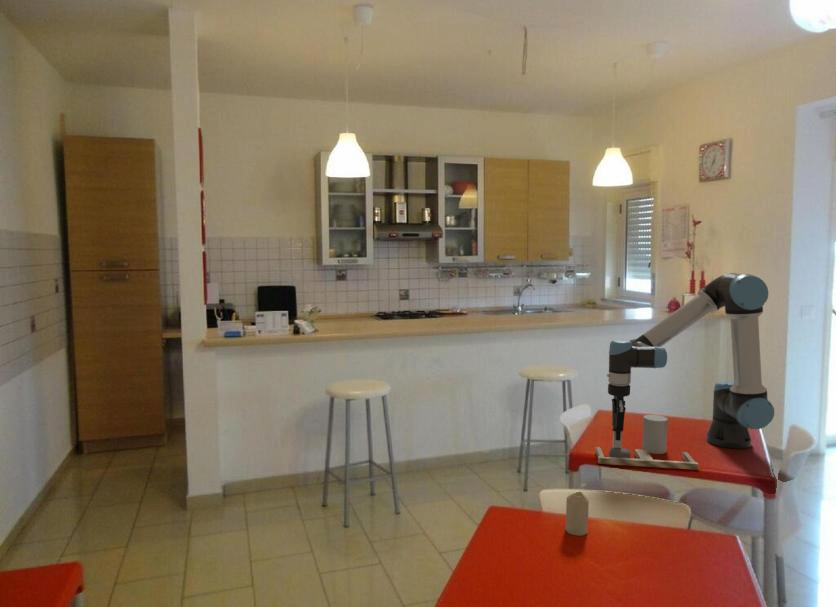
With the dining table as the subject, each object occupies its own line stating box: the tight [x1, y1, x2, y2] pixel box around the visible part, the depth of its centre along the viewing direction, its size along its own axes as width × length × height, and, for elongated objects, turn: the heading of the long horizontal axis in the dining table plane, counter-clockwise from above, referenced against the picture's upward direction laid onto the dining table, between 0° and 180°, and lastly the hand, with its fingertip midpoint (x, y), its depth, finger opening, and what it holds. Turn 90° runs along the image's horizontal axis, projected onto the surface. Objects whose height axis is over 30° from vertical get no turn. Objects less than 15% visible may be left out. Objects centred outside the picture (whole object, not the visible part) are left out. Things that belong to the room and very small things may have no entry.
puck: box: [608, 447, 632, 458], centre depth 209 cm, size 7×7×3 cm
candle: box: [565, 491, 590, 537], centre depth 155 cm, size 6×6×10 cm
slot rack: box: [595, 446, 699, 471], centre depth 207 cm, size 32×12×2 cm, turn 81°
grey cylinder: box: [641, 414, 669, 455], centre depth 218 cm, size 8×8×12 cm
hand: (616, 447), depth 216 cm, fingers closed
